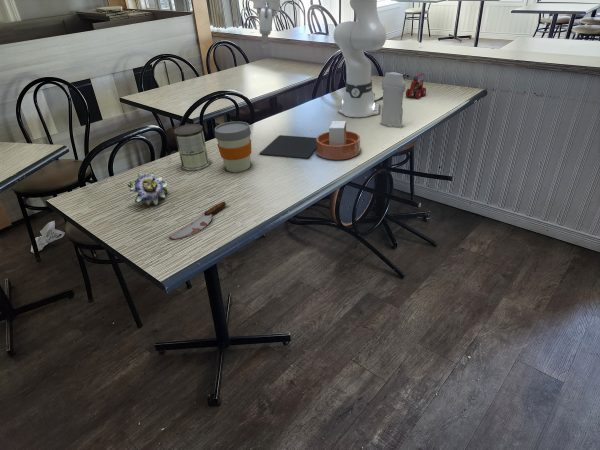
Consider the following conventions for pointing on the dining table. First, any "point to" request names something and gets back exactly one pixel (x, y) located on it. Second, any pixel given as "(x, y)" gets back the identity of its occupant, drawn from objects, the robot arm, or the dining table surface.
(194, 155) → the coffee can
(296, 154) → the mat
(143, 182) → the passion flower
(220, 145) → the reusable coffee cup
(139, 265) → the dining table surface
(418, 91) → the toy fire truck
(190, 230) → the kitchen knife
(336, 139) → the small box
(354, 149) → the bowl
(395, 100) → the tall pale column
